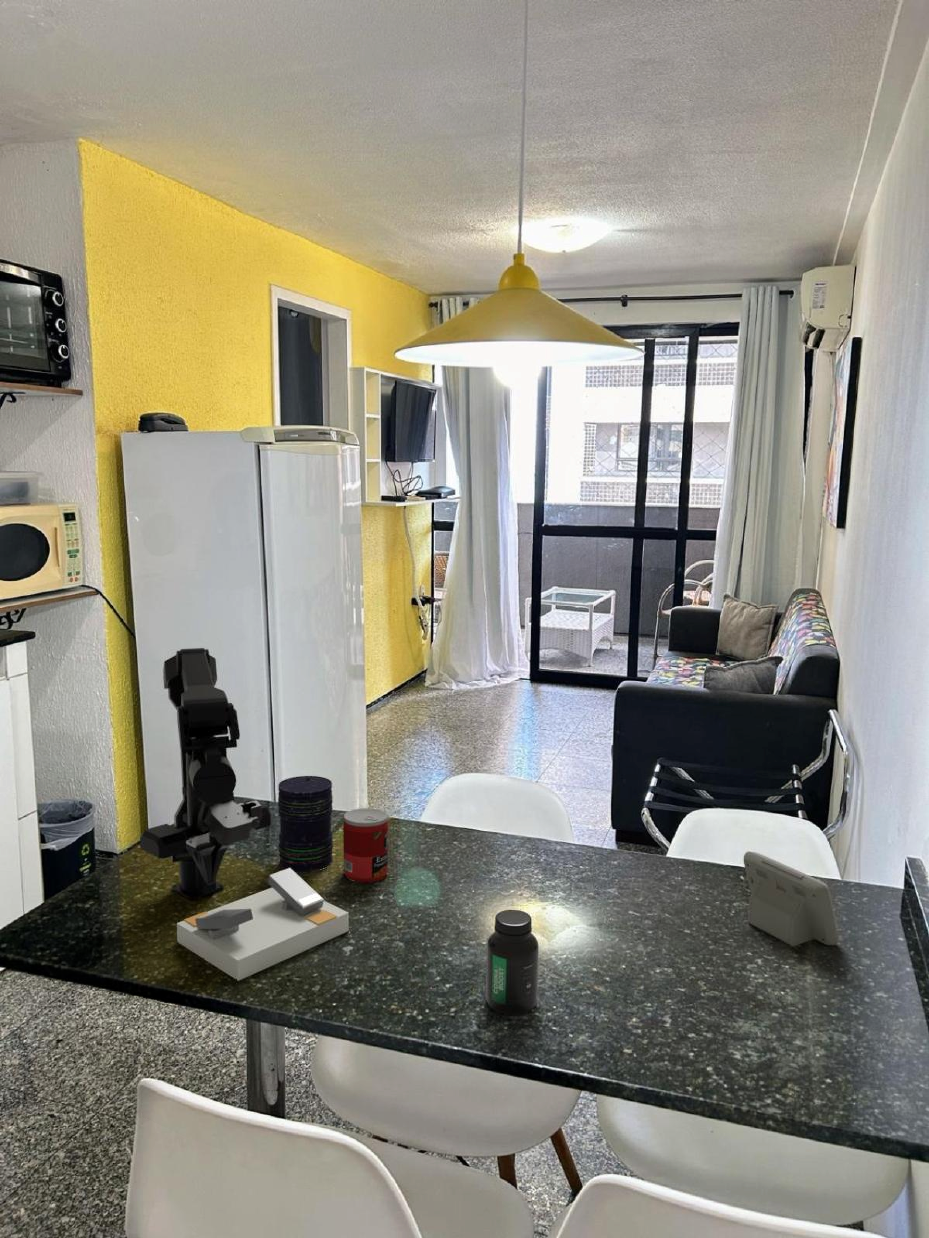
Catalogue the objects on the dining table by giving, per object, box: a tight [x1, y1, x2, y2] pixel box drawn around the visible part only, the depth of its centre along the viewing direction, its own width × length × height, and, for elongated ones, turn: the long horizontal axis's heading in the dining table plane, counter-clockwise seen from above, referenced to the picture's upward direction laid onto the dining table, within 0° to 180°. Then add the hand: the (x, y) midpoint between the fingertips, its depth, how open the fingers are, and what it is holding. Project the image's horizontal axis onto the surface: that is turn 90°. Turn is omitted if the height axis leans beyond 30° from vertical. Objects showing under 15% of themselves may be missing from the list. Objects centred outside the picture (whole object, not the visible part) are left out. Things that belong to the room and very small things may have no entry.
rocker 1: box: [195, 909, 253, 929], centre depth 131 cm, size 9×4×2 cm, turn 49°
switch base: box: [176, 887, 350, 981], centre depth 137 cm, size 16×20×4 cm
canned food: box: [342, 807, 389, 884], centre depth 159 cm, size 8×8×11 cm
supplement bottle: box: [485, 909, 540, 1016], centre depth 119 cm, size 7×7×12 cm
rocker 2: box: [267, 868, 325, 916], centre depth 141 cm, size 9×4×2 cm, turn 47°
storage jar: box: [277, 775, 334, 874], centre depth 164 cm, size 10×10×15 cm
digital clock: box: [743, 850, 840, 947], centre depth 141 cm, size 16×9×11 cm, turn 18°
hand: (209, 883), depth 132 cm, fingers closed
